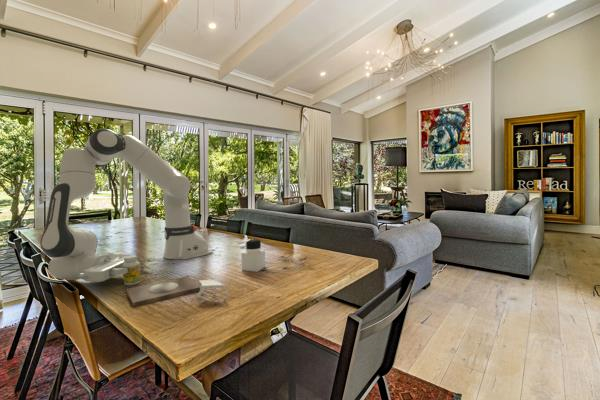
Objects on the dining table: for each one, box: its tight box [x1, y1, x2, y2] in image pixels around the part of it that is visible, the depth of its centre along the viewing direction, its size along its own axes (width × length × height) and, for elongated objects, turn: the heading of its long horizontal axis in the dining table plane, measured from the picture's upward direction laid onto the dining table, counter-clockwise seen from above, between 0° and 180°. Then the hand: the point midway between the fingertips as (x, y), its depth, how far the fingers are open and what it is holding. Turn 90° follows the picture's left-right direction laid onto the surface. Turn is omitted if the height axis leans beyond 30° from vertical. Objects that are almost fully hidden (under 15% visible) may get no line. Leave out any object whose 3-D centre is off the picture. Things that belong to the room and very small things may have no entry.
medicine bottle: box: [241, 238, 266, 273], centre depth 124 cm, size 7×7×12 cm
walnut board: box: [125, 275, 200, 307], centre depth 101 cm, size 20×14×1 cm
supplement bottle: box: [122, 254, 142, 286], centre depth 109 cm, size 5×5×10 cm
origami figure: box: [195, 279, 229, 304], centre depth 94 cm, size 12×8×5 cm
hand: (133, 267), depth 109 cm, fingers open, 5 cm apart
